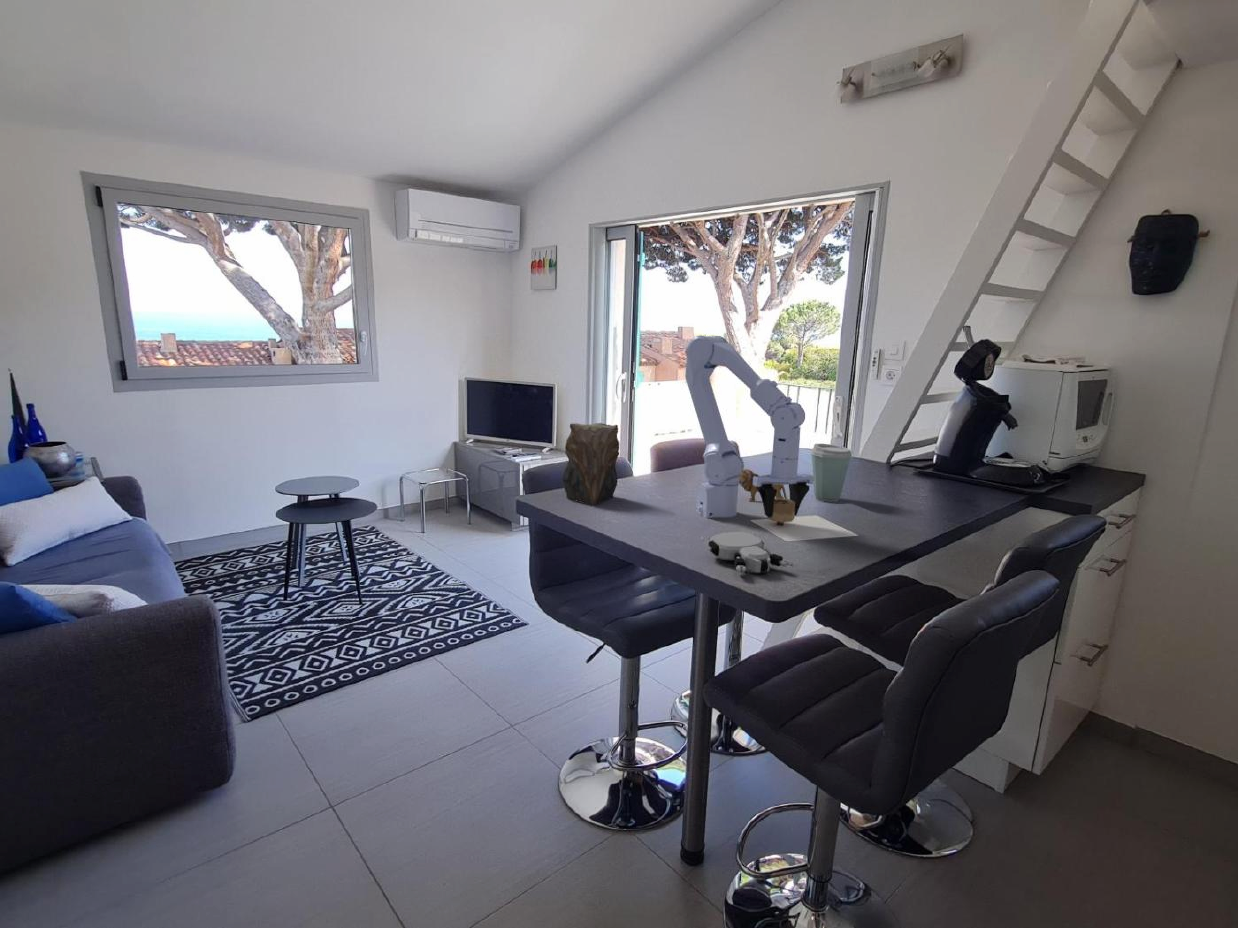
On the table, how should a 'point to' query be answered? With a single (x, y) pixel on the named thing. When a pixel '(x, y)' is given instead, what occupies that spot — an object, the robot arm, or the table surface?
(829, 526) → the white flat rectangular panel
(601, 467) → the owl
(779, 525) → the rod
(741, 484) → the lion figurine
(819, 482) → the disposable coffee cup
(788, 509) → the oak bead
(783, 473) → the robot arm
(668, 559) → the table surface
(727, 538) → the robot toy
